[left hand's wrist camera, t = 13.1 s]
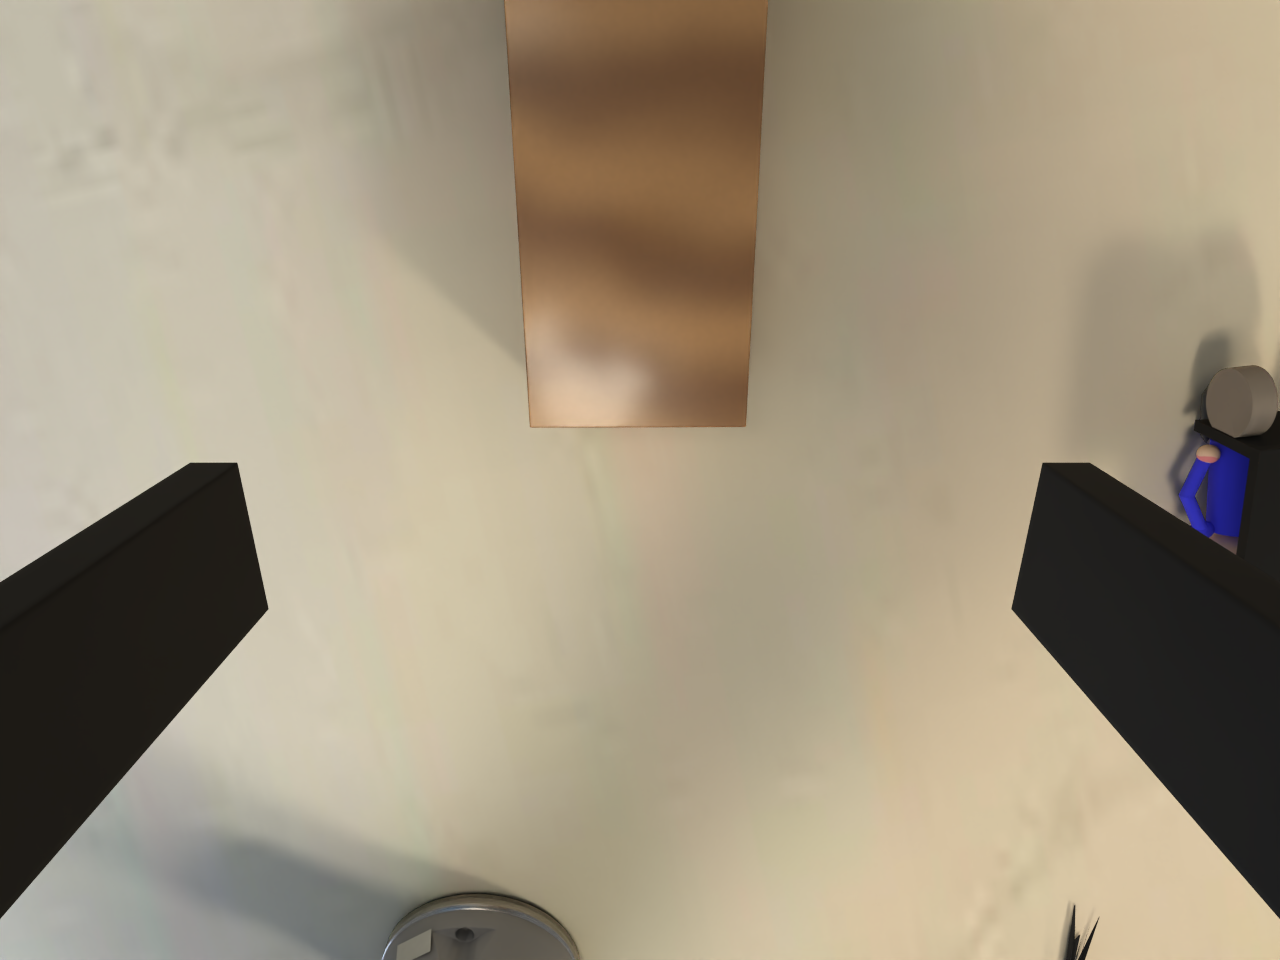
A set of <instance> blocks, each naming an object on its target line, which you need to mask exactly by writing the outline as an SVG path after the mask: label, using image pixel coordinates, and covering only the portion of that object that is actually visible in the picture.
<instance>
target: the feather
mask: <svg viewBox="0 0 1280 960" xmlns="http://www.w3.org/2000/svg"><path fill="white" fill-rule="evenodd" d="M1099 917H1100V916H1099ZM1098 919H1099V918H1098ZM1097 922H1098V920H1097ZM1097 922H1096V924H1095V926H1094V928H1093V930H1092V932H1091V934H1090V936H1089V938H1088V940H1087V942H1086V945H1085V947H1084V946H1083V947H1084V949H1082V950H1083V951H1082V953H1081V955H1080V957H1079V959H1078V960H1085V958H1086V955H1087V952H1088V949H1089V946H1090V943H1091V940H1092V937H1093V934H1094V931H1095V928H1096V925H1097ZM1075 928H1076V927H1075V906H1074V910H1073V917H1072V924H1071V931H1070V938H1069V945H1068V952H1067V958H1066V960H1076V959H1077V956H1076V952H1077V947H1078V942H1079V938H1080V935H1078V937H1077V938H1076V939H1075ZM1088 930H1089V929H1088ZM1086 937H1087V936H1086ZM1085 940H1086V939H1085ZM1080 943H1081V942H1080ZM1084 944H1085V943H1084ZM1079 947H1080V946H1079ZM1078 951H1079V949H1078ZM1077 955H1078V953H1077Z"/></svg>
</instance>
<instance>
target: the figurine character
mask: <svg viewBox="0 0 1280 960" xmlns="http://www.w3.org/2000/svg"><path fill="white" fill-rule="evenodd" d="M1277 407H1278V395H1277V390H1276V386H1275V383H1274V381H1273V379H1272V377H1271V376H1270V374H1269V373H1268V372H1267V371H1266V370H1265V369H1263V368H1261V367H1259V366H1254V365H1251V366H1242V367H1234V368H1225V369H1222V370H1220V371H1219V372H1218V373H1217V374H1216V375H1215V376H1214V377H1213V378H1212V380H1211V382H1210V384H1209V385H1208V387H1207V388H1206V390H1205V391H1204V393H1203V394H1202V404H1201V420H1196V421H1195V427H1194V431H1196V432H1198V433H1200V435H1201V436H1202V438H1203V439H1204V441H1205V442H1207V441H1208V440H1209V438H1210V445H1209V444H1208V445H1203V446H1201V447H1200V448H1199V449H1198V450H1197V452H1196V455H1197V458H1196V460H1195V462H1194V464H1193V466H1192V469H1191V471H1190V473H1189V475H1188V477H1187V479H1186V481H1185V483H1184V485H1183V487H1182V489H1181V491H1180V493H1179V497H1180V500H1181V502H1182V504H1183V507H1184V509H1185V511H1186V513H1187V516H1188V518H1189V520H1190V523H1191V527H1193V528H1194V529H1196V530H1197V531H1199V532H1201V533H1202V534H1204V535H1205V536H1207V537H1208V538H1210V539H1212V540H1213V541H1215V542H1216V543H1218V544H1220V545H1221V546H1223V547H1224V548H1226V549H1228V550H1229V551H1231V552H1232V553H1234V554H1236V555H1237V556H1239V557H1240V558H1242V559H1243V560H1245V561H1247V562H1248V563H1250V564H1251V565H1253V566H1255V567H1256V568H1258V569H1259V570H1261V571H1263V572H1264V573H1266V574H1267V575H1269V576H1271V577H1272V578H1274V579H1275V580H1277V581H1278V582H1280V411H1277ZM1208 468H1209V469H1208ZM1207 470H1208V488H1207V508H1206V521H1205V519H1204V517H1203V514H1202V512H1201V510H1200V507H1199V505H1198V502H1197V500H1196V498H1195V494H1196V492H1197V490H1198V488H1199V486H1200V484H1201V482H1202V480H1203V478H1204V476H1205V474H1206V472H1207Z"/></svg>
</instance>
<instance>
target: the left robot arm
mask: <svg viewBox="0 0 1280 960" xmlns="http://www.w3.org/2000/svg"><path fill="white" fill-rule="evenodd" d="M267 610H268V605H267V600H266V595H265V590H264V586H263V581H262V576H261V572H260V567H259V562H258V558H257V553H256V548H255V544H254V539H253V534H252V529H251V525H250V520H249V515H248V511H247V506H246V501H245V497H244V492H243V487H242V483H241V478H240V473H239V468H238V464H237V463H189V464H188V465H186V466H184V467H183V468H181V469H180V470H178V471H176V472H175V473H173V474H172V475H170V476H169V477H167V478H165V479H164V480H162V481H161V482H159V483H157V484H156V485H154V486H153V487H151V488H149V489H148V490H146V491H145V492H143V493H141V494H140V495H138V496H137V497H135V498H134V499H132V500H130V501H129V502H127V503H126V504H124V505H122V506H121V507H119V508H118V509H116V510H114V511H113V512H111V513H110V514H108V515H106V516H105V517H103V518H102V519H100V520H99V521H97V522H95V523H94V524H92V525H91V526H89V527H87V528H86V529H84V530H83V531H81V532H79V533H78V534H76V535H75V536H73V537H72V538H70V539H68V540H67V541H65V542H64V543H62V544H60V545H59V546H57V547H56V548H54V549H52V550H51V551H49V552H48V553H46V554H44V555H43V556H41V557H40V558H38V559H37V560H35V561H33V562H32V563H30V564H29V565H27V566H25V567H24V568H22V569H21V570H19V571H17V572H16V573H14V574H13V575H11V576H9V577H8V578H6V579H5V580H3V581H2V582H0V918H1V917H2V916H3V915H4V914H5V913H6V912H7V910H8V909H9V908H10V907H11V906H12V905H13V903H14V902H15V901H16V900H17V899H18V898H19V897H20V895H21V894H22V893H23V892H24V891H25V890H26V888H27V887H28V886H29V885H30V884H31V883H32V882H33V880H34V879H35V878H36V877H37V876H38V875H39V873H40V872H41V871H42V870H43V869H44V868H45V867H46V865H47V864H48V863H49V862H50V861H51V860H52V858H53V857H54V856H55V855H56V854H57V853H58V852H59V850H60V849H61V848H62V847H63V846H64V845H65V843H66V842H67V841H68V840H69V839H70V838H71V836H72V835H73V834H74V833H75V832H76V831H77V830H78V828H79V827H80V826H81V825H82V824H83V823H84V821H85V820H86V819H87V818H88V817H89V816H90V815H91V813H92V812H93V811H94V810H95V809H96V808H97V806H98V805H99V804H100V803H101V802H102V801H103V800H104V798H105V797H106V796H107V795H108V794H109V793H110V791H111V790H112V789H113V788H114V787H115V786H116V785H117V783H118V782H119V781H120V780H121V779H122V778H123V776H124V775H125V774H126V773H127V772H128V771H129V770H130V768H131V767H132V766H133V765H134V764H135V763H136V761H137V760H138V759H139V758H140V757H141V756H142V754H143V753H144V752H145V751H146V750H147V749H148V748H149V746H150V745H151V744H152V743H153V742H154V741H155V739H156V738H157V737H158V736H159V735H160V734H161V733H162V731H163V730H164V729H165V728H166V727H167V726H168V724H169V723H170V722H171V721H172V720H173V719H174V718H175V716H176V715H177V714H178V713H179V712H180V711H181V709H182V708H183V707H184V706H185V705H186V704H187V703H188V701H189V700H190V699H191V698H192V697H193V696H194V694H195V693H196V692H197V691H198V690H199V689H200V688H201V686H202V685H203V684H204V683H205V682H206V681H207V679H208V678H209V677H210V676H211V675H212V674H213V673H214V671H215V670H216V669H217V668H218V667H219V666H220V664H221V663H222V662H223V661H224V660H225V659H226V657H227V656H228V655H229V654H230V653H231V652H232V651H233V649H234V648H235V647H236V646H237V645H238V644H239V642H240V641H241V640H242V639H243V638H244V637H245V636H246V634H247V633H248V632H249V631H250V630H251V629H252V627H253V626H254V625H255V624H256V623H257V622H258V621H259V619H260V618H261V617H262V616H263V615H264V614H265V612H266V611H267ZM1012 610H1013V611H1014V612H1015V614H1016V615H1017V616H1018V617H1019V618H1020V619H1021V621H1022V622H1023V623H1024V624H1025V625H1026V626H1027V627H1028V629H1029V630H1030V631H1031V632H1032V633H1033V634H1034V636H1035V637H1036V638H1037V639H1038V640H1039V641H1040V642H1041V644H1042V645H1043V646H1044V647H1045V648H1046V649H1047V651H1048V652H1049V653H1050V654H1051V655H1052V656H1053V657H1054V659H1055V660H1056V661H1057V662H1058V663H1059V664H1060V666H1061V667H1062V668H1063V669H1064V670H1065V671H1066V673H1067V674H1068V675H1069V676H1070V677H1071V678H1072V679H1073V681H1074V682H1075V683H1076V684H1077V685H1078V686H1079V688H1080V689H1081V690H1082V691H1083V692H1084V693H1085V694H1086V696H1087V697H1088V698H1089V699H1090V700H1091V701H1092V703H1093V704H1094V705H1095V706H1096V707H1097V708H1098V709H1099V711H1100V712H1101V713H1102V714H1103V715H1104V716H1105V718H1106V719H1107V720H1108V721H1109V722H1110V723H1111V724H1112V726H1113V727H1114V728H1115V729H1116V730H1117V731H1118V733H1119V734H1120V735H1121V736H1122V737H1123V738H1124V739H1125V741H1126V742H1127V743H1128V744H1129V745H1130V746H1131V748H1132V749H1133V750H1134V751H1135V752H1136V753H1137V754H1138V756H1139V757H1140V758H1141V759H1142V760H1143V761H1144V763H1145V764H1146V765H1147V766H1148V767H1149V768H1150V770H1151V771H1152V772H1153V773H1154V774H1155V775H1156V776H1157V778H1158V779H1159V780H1160V781H1161V782H1162V783H1163V785H1164V786H1165V787H1166V788H1167V789H1168V790H1169V791H1170V793H1171V794H1172V795H1173V796H1174V797H1175V798H1176V800H1177V801H1178V802H1179V803H1180V804H1181V805H1182V806H1183V808H1184V809H1185V810H1186V811H1187V812H1188V813H1189V815H1190V816H1191V817H1192V818H1193V819H1194V820H1195V821H1196V823H1197V824H1198V825H1199V826H1200V827H1201V828H1202V830H1203V831H1204V832H1205V833H1206V834H1207V835H1208V836H1209V838H1210V839H1211V840H1212V841H1213V842H1214V843H1215V845H1216V846H1217V847H1218V848H1219V849H1220V850H1221V852H1222V853H1223V854H1224V855H1225V856H1226V857H1227V858H1228V860H1229V861H1230V862H1231V863H1232V864H1233V865H1234V867H1235V868H1236V869H1237V870H1238V871H1239V872H1240V873H1241V875H1242V876H1243V877H1244V878H1245V879H1246V880H1247V882H1248V883H1249V884H1250V885H1251V886H1252V887H1253V888H1254V890H1255V891H1256V892H1257V893H1258V894H1259V895H1260V897H1261V898H1262V899H1263V900H1264V901H1265V902H1266V903H1267V905H1268V906H1269V907H1270V908H1271V909H1272V910H1273V912H1274V913H1275V914H1276V915H1277V916H1278V917H1279V918H1280V582H1278V581H1277V580H1275V579H1274V578H1272V577H1271V576H1269V575H1267V574H1266V573H1264V572H1263V571H1261V570H1259V569H1258V568H1256V567H1255V566H1253V565H1251V564H1250V563H1248V562H1247V561H1245V560H1243V559H1242V558H1240V557H1239V556H1237V555H1236V554H1234V553H1232V552H1231V551H1229V550H1228V549H1226V548H1224V547H1223V546H1221V545H1220V544H1218V543H1216V542H1215V541H1213V540H1212V539H1210V538H1208V537H1207V536H1205V535H1204V534H1202V533H1201V532H1199V531H1197V530H1196V529H1194V528H1193V527H1191V526H1189V525H1188V524H1186V523H1185V522H1183V521H1181V520H1180V519H1178V518H1177V517H1175V516H1174V515H1172V514H1170V513H1169V512H1167V511H1166V510H1164V509H1162V508H1161V507H1159V506H1158V505H1156V504H1154V503H1153V502H1151V501H1150V500H1148V499H1146V498H1145V497H1143V496H1142V495H1140V494H1139V493H1137V492H1135V491H1134V490H1132V489H1131V488H1129V487H1127V486H1126V485H1124V484H1123V483H1121V482H1119V481H1118V480H1116V479H1115V478H1113V477H1111V476H1110V475H1108V474H1107V473H1105V472H1104V471H1102V470H1100V469H1099V468H1097V467H1096V466H1094V465H1092V464H1091V463H1043V464H1042V468H1041V473H1040V478H1039V483H1038V487H1037V492H1036V497H1035V501H1034V506H1033V511H1032V515H1031V520H1030V525H1029V529H1028V534H1027V539H1026V544H1025V548H1024V553H1023V558H1022V562H1021V567H1020V572H1019V576H1018V581H1017V586H1016V590H1015V595H1014V600H1013V605H1012ZM382 960H580V958H579V953H578V950H577V947H576V945H575V943H574V941H573V940H572V938H571V936H570V935H569V934H568V932H567V931H566V930H565V929H564V928H563V927H562V926H561V925H560V924H559V923H558V922H557V921H556V920H554V919H553V918H552V917H550V916H549V915H548V914H546V913H545V912H543V911H541V910H539V909H537V908H535V907H533V906H531V905H529V904H526V903H524V902H521V901H518V900H514V899H511V898H507V897H502V896H496V895H487V894H464V895H456V896H449V897H445V898H441V899H438V900H434V901H432V902H429V903H427V904H424V905H422V906H420V907H418V908H417V909H415V910H414V911H412V912H410V913H409V914H408V915H407V916H405V917H404V918H403V919H402V920H401V921H400V922H399V923H398V924H397V926H396V927H395V928H394V930H393V931H392V933H391V935H390V937H389V940H388V942H387V945H386V948H385V951H384V954H383V958H382Z"/></svg>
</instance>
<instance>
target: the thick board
mask: <svg viewBox="0 0 1280 960" xmlns="http://www.w3.org/2000/svg"><path fill="white" fill-rule="evenodd" d="M504 8H505V24H506V41H507V57H508V74H509V90H510V107H511V123H512V140H513V156H514V173H515V189H516V206H517V222H518V239H519V255H520V271H521V288H522V304H523V321H524V337H525V354H526V370H527V387H528V403H529V420H530V427H746V414H747V395H748V376H749V357H750V337H751V318H752V299H753V280H754V260H755V241H756V222H757V202H758V183H759V164H760V145H761V125H762V106H763V87H764V67H765V48H766V29H767V10H768V0H504Z"/></svg>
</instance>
